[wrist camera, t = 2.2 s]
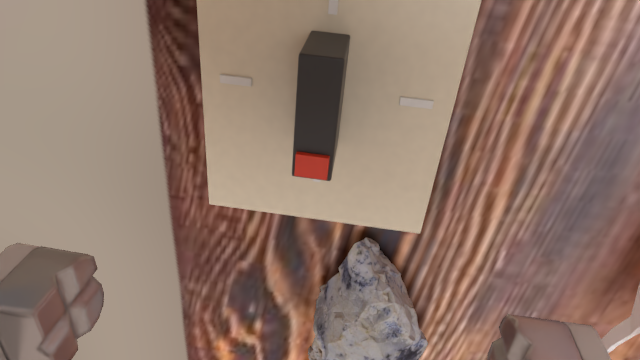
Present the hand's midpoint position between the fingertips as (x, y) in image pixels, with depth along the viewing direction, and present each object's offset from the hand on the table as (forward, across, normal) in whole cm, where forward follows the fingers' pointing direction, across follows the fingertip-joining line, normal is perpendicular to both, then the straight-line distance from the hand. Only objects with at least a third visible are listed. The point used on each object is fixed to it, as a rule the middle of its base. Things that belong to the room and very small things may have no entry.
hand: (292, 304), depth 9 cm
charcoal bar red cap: (+12, +1, 0) cm, 12 cm away
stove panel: (+15, +1, 0) cm, 15 cm away
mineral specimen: (+15, -4, +15) cm, 22 cm away
